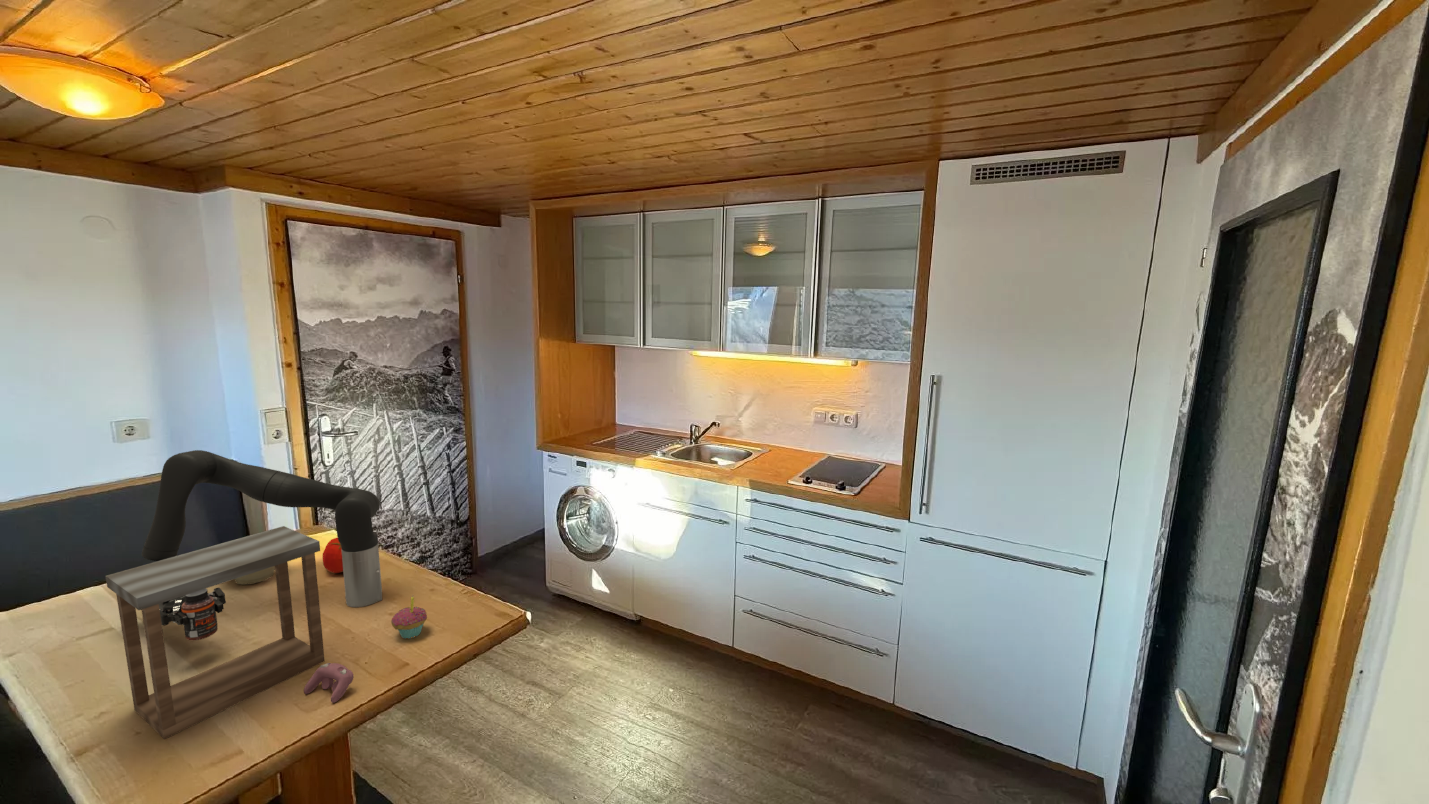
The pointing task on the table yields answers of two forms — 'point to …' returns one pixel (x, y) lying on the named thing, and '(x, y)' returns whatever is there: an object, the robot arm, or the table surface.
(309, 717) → the table surface
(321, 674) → the video game controller
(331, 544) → the tomato
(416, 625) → the cupcake
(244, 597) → the table surface
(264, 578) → the planter bowl
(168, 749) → the table surface
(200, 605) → the supplement bottle
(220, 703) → the under-counter shelf
